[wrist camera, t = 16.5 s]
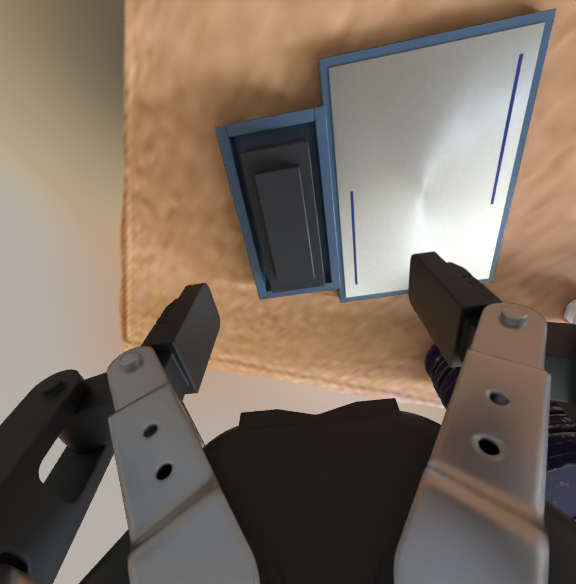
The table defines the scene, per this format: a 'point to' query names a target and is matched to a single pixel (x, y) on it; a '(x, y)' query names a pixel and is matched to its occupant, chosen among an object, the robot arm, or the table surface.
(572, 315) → the cup
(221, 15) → the table surface
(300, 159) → the eraser
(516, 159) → the whiteboard
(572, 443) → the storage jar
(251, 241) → the eraser holder
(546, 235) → the table surface
